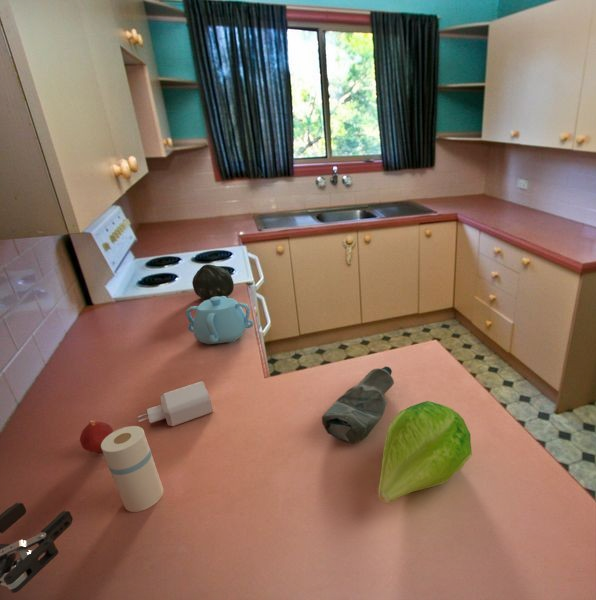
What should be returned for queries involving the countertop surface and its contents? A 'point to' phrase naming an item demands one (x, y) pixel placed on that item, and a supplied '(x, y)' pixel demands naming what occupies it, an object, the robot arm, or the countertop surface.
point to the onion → (94, 435)
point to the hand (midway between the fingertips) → (45, 510)
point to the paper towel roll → (132, 468)
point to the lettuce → (422, 449)
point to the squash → (212, 282)
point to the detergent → (359, 407)
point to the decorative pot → (219, 320)
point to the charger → (181, 405)
